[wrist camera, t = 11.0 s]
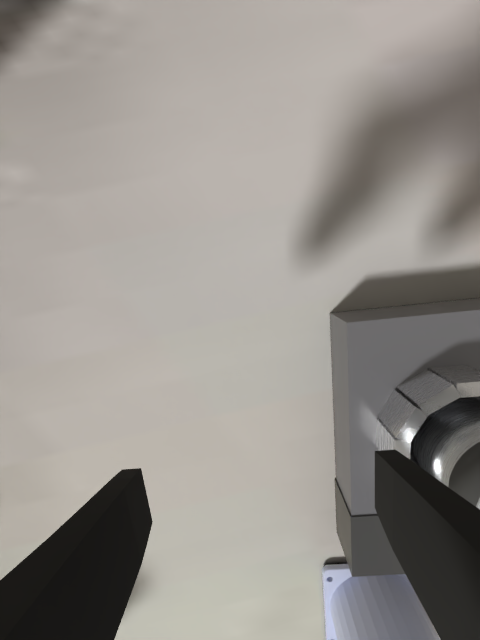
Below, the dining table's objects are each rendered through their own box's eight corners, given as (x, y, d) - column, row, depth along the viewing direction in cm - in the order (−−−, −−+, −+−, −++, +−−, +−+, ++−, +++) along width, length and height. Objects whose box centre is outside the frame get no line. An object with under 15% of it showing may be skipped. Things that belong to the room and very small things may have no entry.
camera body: (480, 522, 20) (554, 604, 16) (336, 531, 21) (364, 612, 16) (503, 295, 17) (609, 308, 12) (328, 313, 17) (360, 331, 12)
